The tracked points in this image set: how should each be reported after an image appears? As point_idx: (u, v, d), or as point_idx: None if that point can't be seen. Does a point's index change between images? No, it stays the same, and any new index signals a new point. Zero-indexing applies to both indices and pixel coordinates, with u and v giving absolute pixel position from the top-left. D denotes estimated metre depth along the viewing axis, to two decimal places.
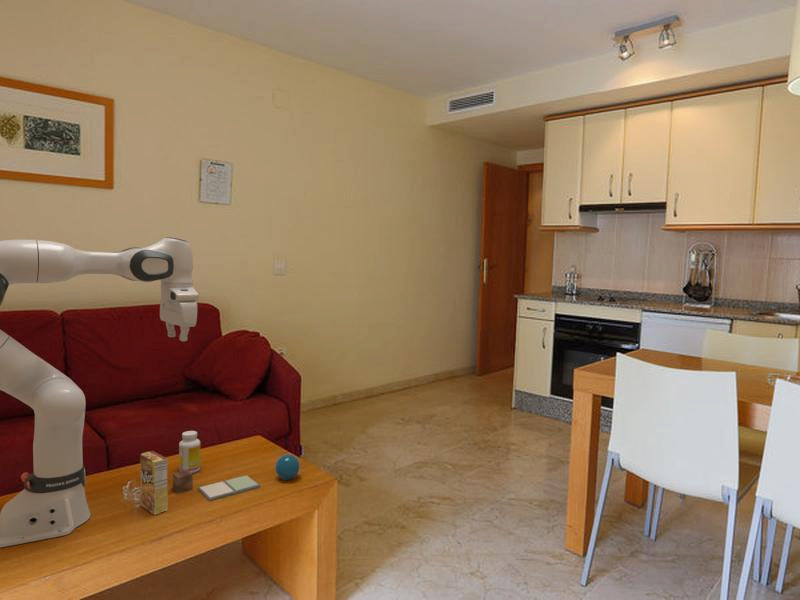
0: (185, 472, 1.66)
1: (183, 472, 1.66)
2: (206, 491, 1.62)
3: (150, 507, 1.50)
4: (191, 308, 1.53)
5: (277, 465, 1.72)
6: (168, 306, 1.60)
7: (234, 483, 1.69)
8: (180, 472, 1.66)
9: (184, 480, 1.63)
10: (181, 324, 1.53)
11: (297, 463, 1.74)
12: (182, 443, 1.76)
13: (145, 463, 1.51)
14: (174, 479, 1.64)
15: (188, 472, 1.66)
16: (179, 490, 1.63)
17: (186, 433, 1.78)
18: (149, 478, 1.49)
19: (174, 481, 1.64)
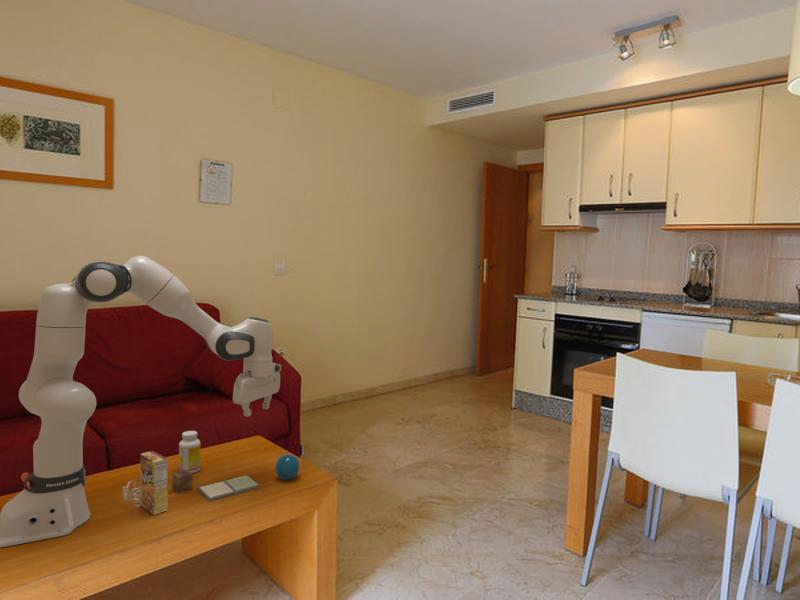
0: (185, 472, 1.66)
1: (183, 472, 1.66)
2: (206, 491, 1.62)
3: (150, 507, 1.50)
4: None
5: (277, 465, 1.72)
6: (256, 384, 1.65)
7: (234, 483, 1.69)
8: (180, 472, 1.66)
9: (184, 480, 1.63)
10: (276, 390, 1.76)
11: (297, 463, 1.74)
12: (182, 443, 1.76)
13: (145, 463, 1.51)
14: (174, 479, 1.64)
15: (188, 472, 1.66)
16: (179, 490, 1.63)
17: (186, 433, 1.78)
18: (149, 478, 1.49)
19: (174, 481, 1.64)
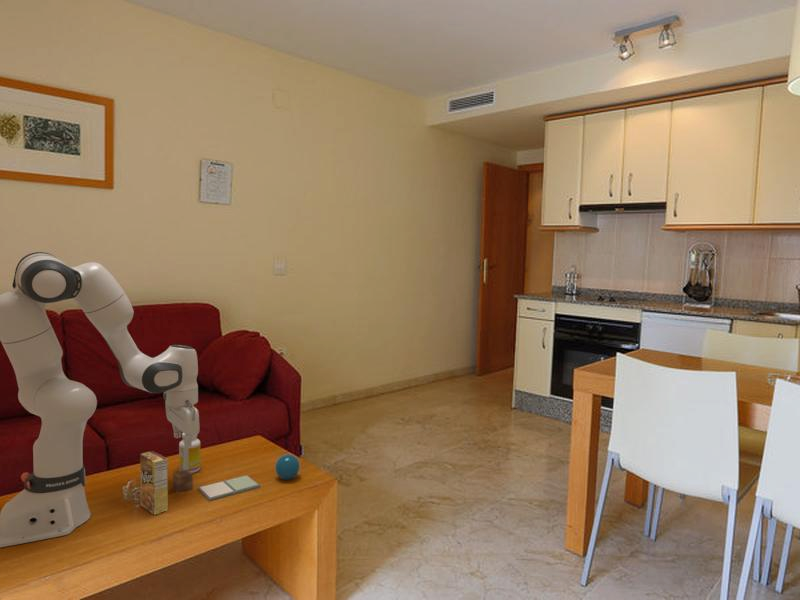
0: (185, 472, 1.66)
1: (183, 472, 1.66)
2: (206, 491, 1.62)
3: (150, 507, 1.50)
4: None
5: (277, 465, 1.72)
6: None
7: (234, 483, 1.69)
8: (180, 472, 1.66)
9: (184, 480, 1.63)
10: None
11: (297, 463, 1.74)
12: (182, 443, 1.76)
13: (145, 463, 1.51)
14: (174, 479, 1.64)
15: (188, 472, 1.66)
16: (179, 490, 1.63)
17: None
18: (149, 478, 1.49)
19: (174, 481, 1.64)
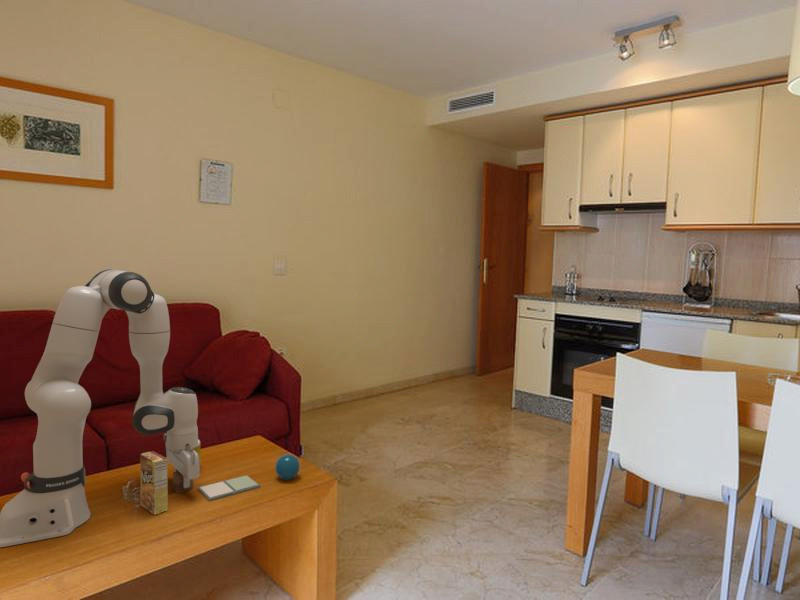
0: None
1: None
2: (206, 491, 1.62)
3: (150, 507, 1.50)
4: None
5: (277, 465, 1.72)
6: None
7: (234, 483, 1.69)
8: None
9: None
10: None
11: (297, 463, 1.74)
12: None
13: (145, 463, 1.51)
14: (174, 479, 1.64)
15: None
16: (179, 490, 1.63)
17: None
18: (149, 478, 1.49)
19: (174, 481, 1.64)
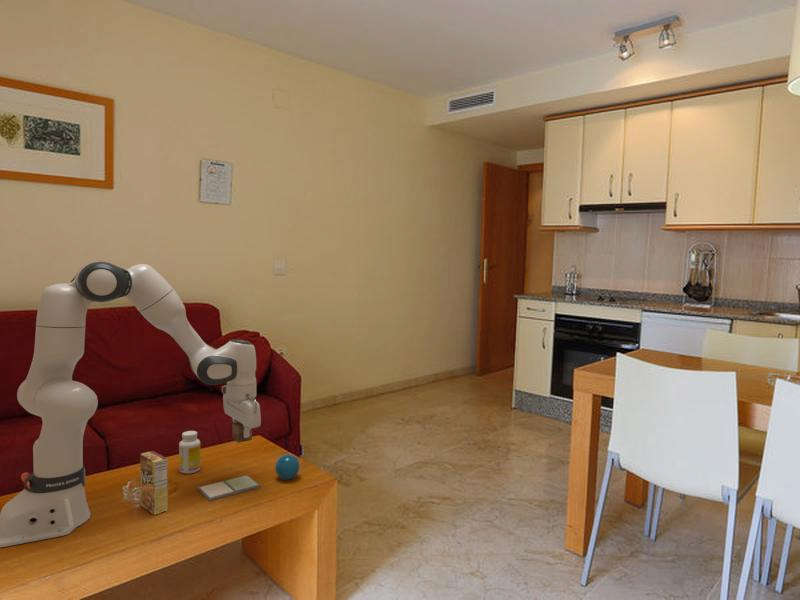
0: None
1: None
2: (206, 491, 1.62)
3: (150, 507, 1.50)
4: None
5: (277, 465, 1.72)
6: None
7: (234, 483, 1.69)
8: (239, 423, 1.69)
9: None
10: None
11: (297, 463, 1.74)
12: (182, 443, 1.76)
13: (145, 463, 1.51)
14: (234, 429, 1.67)
15: None
16: (239, 439, 1.65)
17: (186, 433, 1.78)
18: (149, 478, 1.49)
19: (234, 431, 1.67)
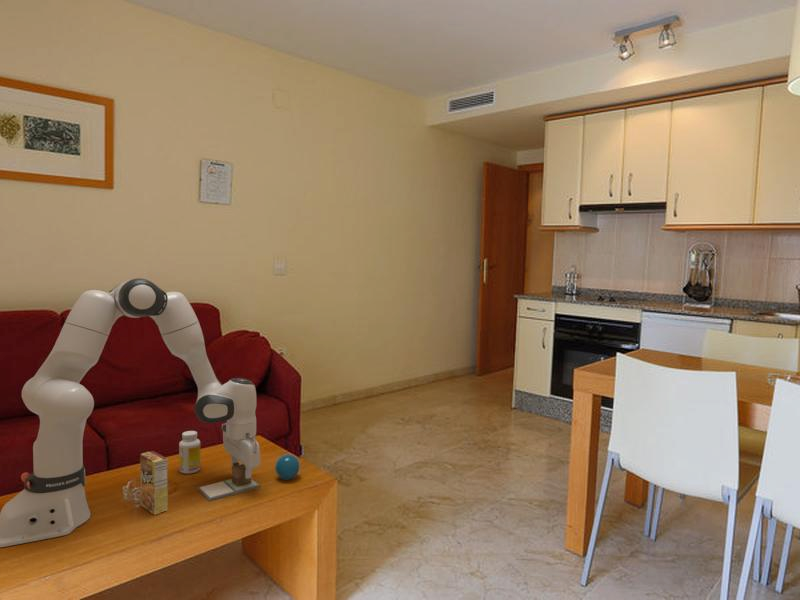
0: (243, 466, 1.70)
1: (242, 465, 1.70)
2: (206, 491, 1.62)
3: (150, 507, 1.50)
4: None
5: (277, 465, 1.72)
6: None
7: None
8: (239, 466, 1.70)
9: None
10: None
11: (297, 463, 1.74)
12: (182, 443, 1.76)
13: (145, 463, 1.51)
14: (233, 473, 1.68)
15: None
16: (239, 483, 1.66)
17: (186, 433, 1.78)
18: (149, 478, 1.49)
19: (234, 475, 1.68)
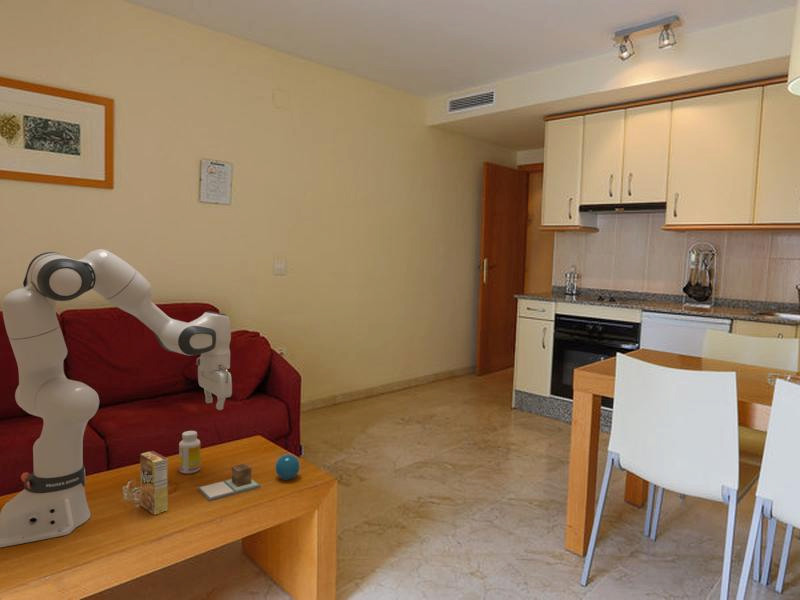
0: (243, 466, 1.70)
1: (242, 465, 1.70)
2: (206, 491, 1.62)
3: (150, 507, 1.50)
4: None
5: (277, 465, 1.72)
6: None
7: None
8: (239, 466, 1.70)
9: (244, 474, 1.67)
10: None
11: (297, 463, 1.74)
12: (182, 443, 1.76)
13: (145, 463, 1.51)
14: (233, 473, 1.68)
15: (246, 466, 1.70)
16: (239, 483, 1.66)
17: (186, 433, 1.78)
18: (149, 478, 1.49)
19: (234, 475, 1.68)
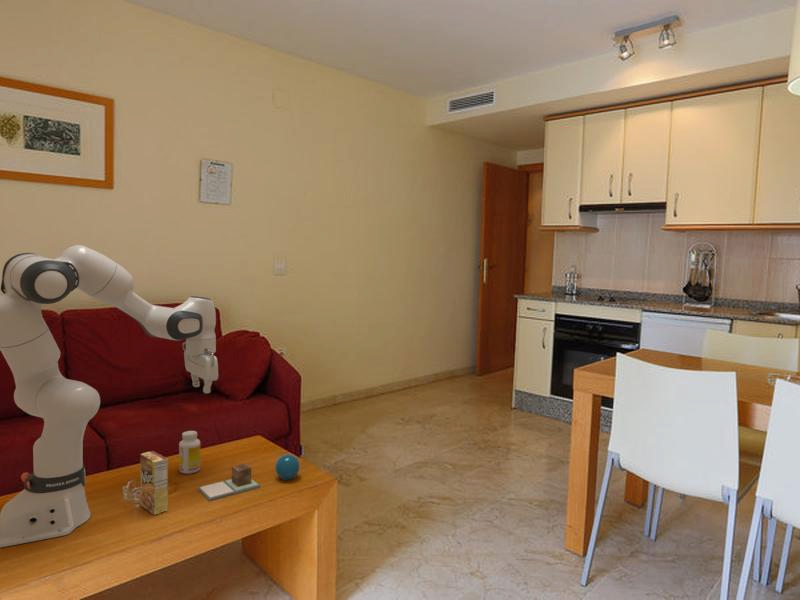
0: (243, 466, 1.70)
1: (242, 465, 1.70)
2: (206, 491, 1.62)
3: (150, 507, 1.50)
4: None
5: (277, 465, 1.72)
6: None
7: None
8: (239, 466, 1.70)
9: (244, 474, 1.67)
10: None
11: (297, 463, 1.74)
12: (182, 443, 1.76)
13: (145, 463, 1.51)
14: (233, 473, 1.68)
15: (246, 466, 1.70)
16: (239, 483, 1.66)
17: (186, 433, 1.78)
18: (149, 478, 1.49)
19: (234, 475, 1.68)
